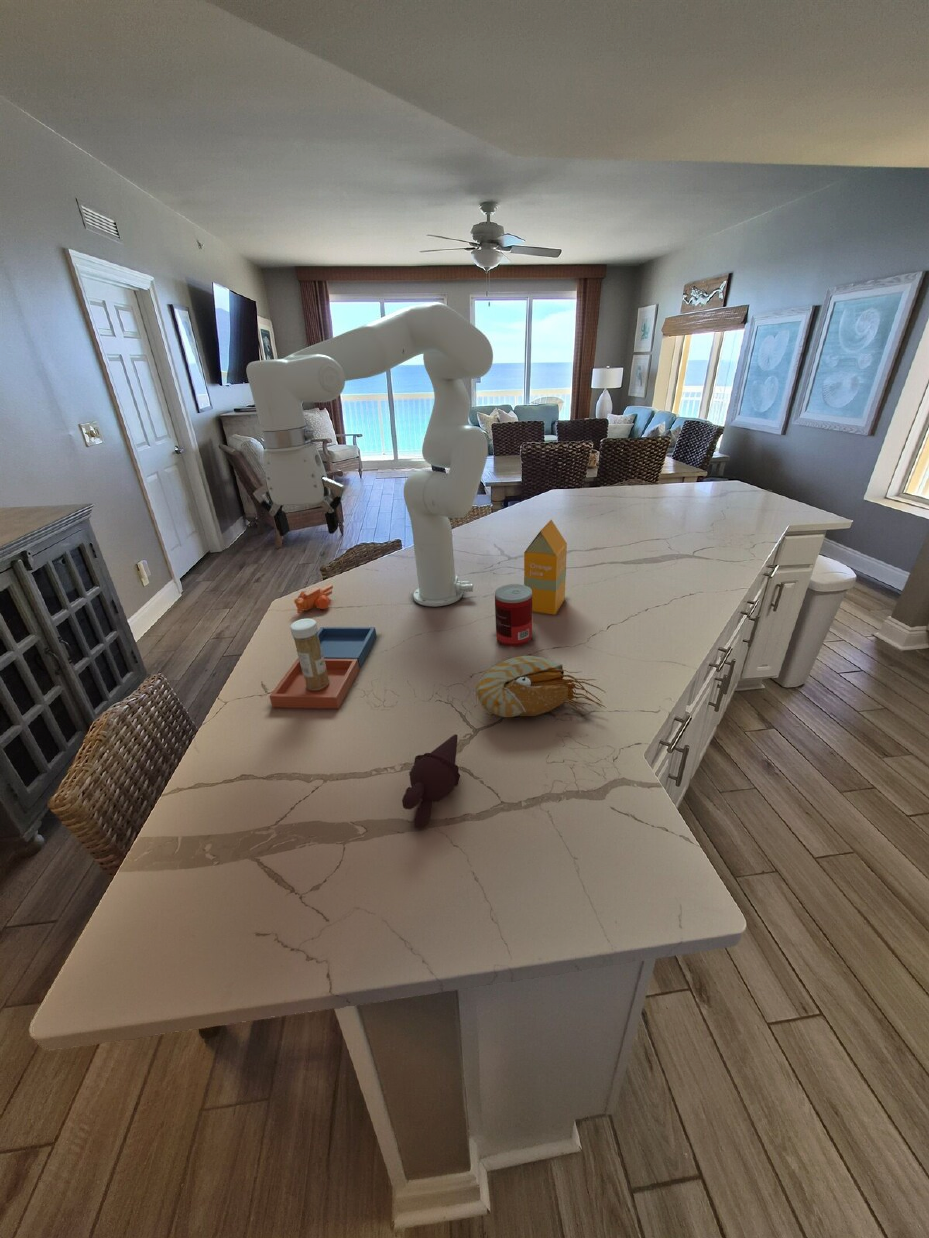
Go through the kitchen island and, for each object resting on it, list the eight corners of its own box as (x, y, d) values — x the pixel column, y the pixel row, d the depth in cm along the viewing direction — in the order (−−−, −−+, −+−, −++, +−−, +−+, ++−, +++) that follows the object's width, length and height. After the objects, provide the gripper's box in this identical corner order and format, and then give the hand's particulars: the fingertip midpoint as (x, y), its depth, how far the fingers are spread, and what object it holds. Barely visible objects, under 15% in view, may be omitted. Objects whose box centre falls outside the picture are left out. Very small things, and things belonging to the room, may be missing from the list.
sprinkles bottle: (333, 686, 94) (319, 624, 88) (309, 695, 92) (293, 632, 86) (325, 675, 97) (311, 614, 91) (302, 683, 95) (286, 622, 89)
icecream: (427, 717, 75) (377, 796, 64) (470, 717, 71) (424, 802, 60) (443, 750, 78) (397, 832, 67) (484, 752, 74) (444, 839, 63)
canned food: (535, 630, 109) (535, 585, 104) (527, 649, 102) (527, 601, 97) (501, 627, 111) (500, 582, 106) (491, 645, 105) (490, 598, 99)
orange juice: (565, 599, 122) (568, 520, 112) (555, 614, 115) (558, 532, 105) (534, 594, 125) (535, 517, 115) (523, 610, 118) (523, 529, 108)
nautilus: (609, 695, 88) (595, 756, 76) (494, 669, 95) (465, 721, 83) (615, 660, 84) (601, 718, 72) (495, 635, 91) (464, 685, 79)
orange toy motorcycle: (323, 576, 129) (287, 594, 120) (345, 589, 127) (310, 608, 118) (322, 591, 132) (287, 610, 123) (343, 604, 130) (309, 624, 121)
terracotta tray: (359, 669, 100) (357, 658, 98) (338, 708, 88) (336, 697, 87) (300, 668, 101) (297, 658, 100) (272, 707, 90) (269, 696, 89)
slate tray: (376, 636, 111) (375, 626, 110) (360, 668, 100) (358, 657, 99) (323, 636, 112) (320, 626, 111) (300, 667, 101) (298, 657, 100)
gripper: (341, 432, 89) (358, 524, 97) (250, 438, 91) (274, 528, 99) (327, 439, 82) (347, 537, 91) (229, 446, 84) (257, 541, 92)
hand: (309, 532), depth 95 cm, fingers open, 9 cm apart
